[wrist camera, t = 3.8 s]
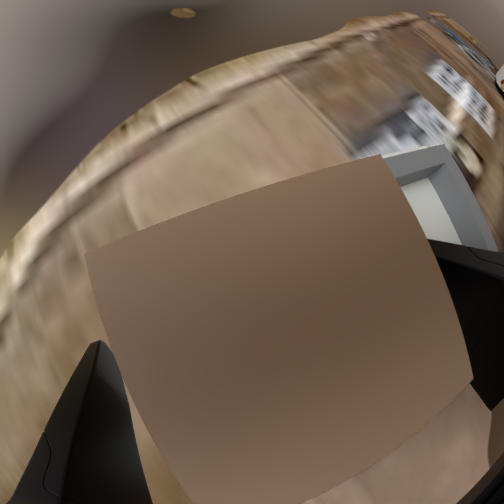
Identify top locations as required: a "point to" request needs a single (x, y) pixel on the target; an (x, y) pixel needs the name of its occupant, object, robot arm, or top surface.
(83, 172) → the top surface
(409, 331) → the cabinet block
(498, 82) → the spread jar
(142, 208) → the top surface
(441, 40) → the top surface
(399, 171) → the mounting board
